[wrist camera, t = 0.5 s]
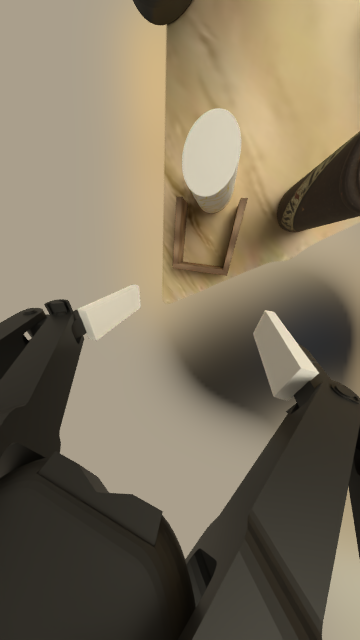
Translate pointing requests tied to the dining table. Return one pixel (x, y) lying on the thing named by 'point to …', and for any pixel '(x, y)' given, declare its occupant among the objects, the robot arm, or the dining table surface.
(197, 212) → the dining table surface
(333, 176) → the container
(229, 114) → the white cylinder
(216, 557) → the robot arm
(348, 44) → the dining table surface
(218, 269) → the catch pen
